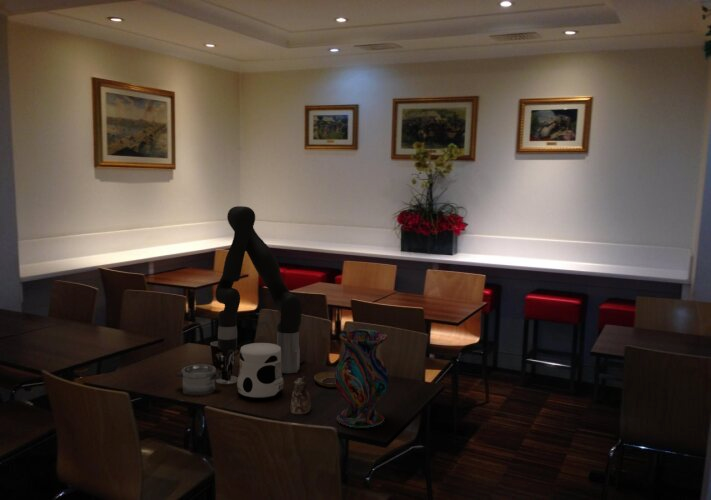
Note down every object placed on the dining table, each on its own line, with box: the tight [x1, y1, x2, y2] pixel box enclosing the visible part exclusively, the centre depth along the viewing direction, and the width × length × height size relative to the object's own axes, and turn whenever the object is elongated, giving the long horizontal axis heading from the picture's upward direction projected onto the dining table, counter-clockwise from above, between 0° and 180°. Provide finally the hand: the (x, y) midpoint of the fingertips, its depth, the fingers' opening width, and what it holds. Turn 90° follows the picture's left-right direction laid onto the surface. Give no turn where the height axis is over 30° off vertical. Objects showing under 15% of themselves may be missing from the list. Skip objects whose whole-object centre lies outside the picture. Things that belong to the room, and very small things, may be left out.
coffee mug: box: [210, 340, 241, 369], centre depth 266 cm, size 12×9×10 cm
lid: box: [215, 369, 238, 385], centre depth 249 cm, size 9×9×4 cm
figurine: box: [290, 375, 312, 415], centre depth 219 cm, size 7×7×12 cm
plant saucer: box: [313, 371, 337, 388], centre depth 250 cm, size 15×15×3 cm
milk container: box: [236, 342, 284, 400], centre depth 233 cm, size 17×17×18 cm
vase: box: [335, 328, 390, 429], centre depth 211 cm, size 18×18×30 cm
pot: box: [175, 363, 222, 397], centre depth 236 cm, size 17×12×8 cm
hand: (227, 376), depth 249 cm, fingers open, 6 cm apart
